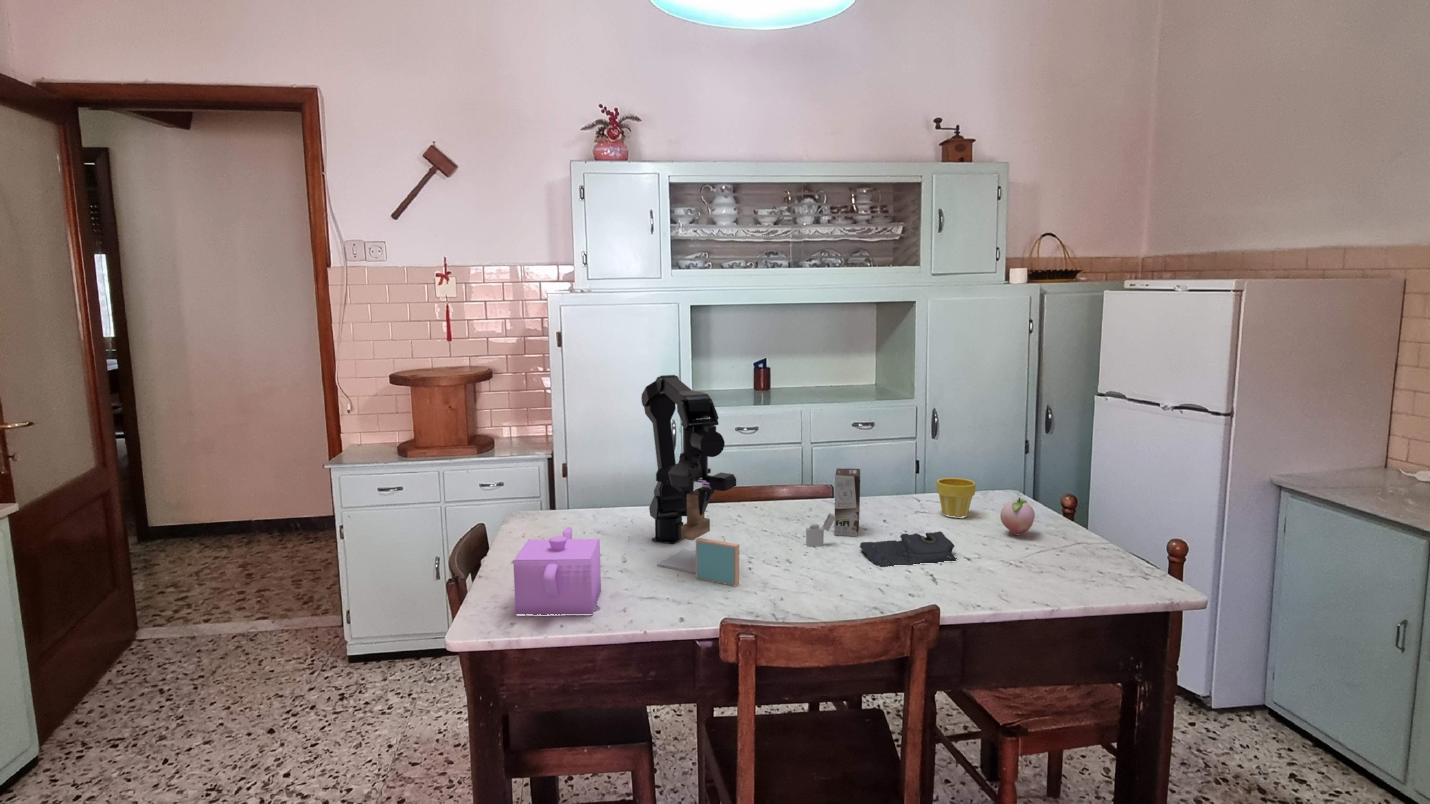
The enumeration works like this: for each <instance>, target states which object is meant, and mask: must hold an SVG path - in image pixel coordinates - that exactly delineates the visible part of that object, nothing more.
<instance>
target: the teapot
mask: <svg viewBox="0 0 1430 804" xmlns="http://www.w3.org/2000/svg"><path fill="white" fill-rule="evenodd" d="M572 536H573V528H572V527H568V526H567V527H565V528H564V530H563V532H562V535H555V536H552V537H550V538H548V539H547V538H545V539H542V538H541V539H539V538H538V539H537V538H536V539H527V541H526V542H525V544H523V546H522V548H521V549H520V550H519V552H518V554H517V555H516V556H515V558H514V560H513V584H514V605H515V607H514V608H515V609H514V610H515V615H516V614H525V615H526V614H533V615H537V614H538V615H539V614H541V615H547V614H549V615H550V614H554V615H555V614H557V615H558V614H560V615H561V614H593V612H594V613H595V611H594V609H595V610H596V608H595V607H597V605H596V604H598V602H599V599H598V598H600V596H601V593H602V583H601V582H602V574H601V540H600V538H573V537H572ZM600 592H601V593H600ZM599 595H600V596H599ZM597 601H598V602H597ZM593 615H594V614H593Z"/></svg>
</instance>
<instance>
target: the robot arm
mask: <svg viewBox="0 0 1430 804" xmlns="http://www.w3.org/2000/svg"><path fill="white" fill-rule="evenodd" d="M640 399H641V404H642V407H644V408H643V409H644V413H645V416H647V418H648V419H649V420H650V422H651V423H652V430H653V439H654V445H655V447H654V449H655V456H656V457H655V458H656V465H657V470H656V472H655V481H656V482H657V483H656V485H655V488H654V489H653V494H654V495H653V498H652V500H651V503H650V505H649V507H648V508H649V509H648V511H649V516H650V518H651V517H652V519H654V530H655V531H654V534H655V535H654V537H651V541H652V542H659V543H664V544H670V545H674V544H676V543H678V542H679V541H682V540H683V539H682V538H681V526H682V525H684V521H683V517H687V493H690V492H692V491H694V489H695V488H694V485H695V483H701V484H702V485H701V486H700V487H699V488H697V490H696V491H698V492H699V494H700V515H703V514H704V515H705V512H706V510H707V507H708V506H709V505H708V504H709V503H710V501H711V498H712V496H713V495H714V493H715V491H717V492H718V491H720V492H727V491H729V490H730V489H732V488H735V487H736V486H737V477H736V476H735V475H734V473H733V474H732V473H726V472H718V473H716V474H714V475H709V474H711V471H712V468H709V458H715V457H718V456H719V455H721V453H722V452H723V451H724V449H725V440H724V439H725V438H724V436H723V435H722V434H721V433H720V432H718V431H717V426H719V414H718V412H717V409H716V406H715V404H714V402H713V399H712V398H711V396H710V395H709V394H708V393H706V392H703V391H694V390H693V389H691V388H690V387H689V386H688V385H686V384H685V383H684V382H683V381H681V380H680V378H679V376H678V375H675V374H666V375H660V376H657V377H656V378H655V381H653V382H651V383H650V384H648V385H646V386H645V388H644V389H643V392H642V393H641V398H640ZM676 409H677V410H676ZM675 411H677V414H678V416H679V418H680V420H681V423H680V424H681V426H682V453H680V454H679V456H678V457H679V459H678V463H677V462H676V453H675V446H674V440H673V439H674V438H673V430H672V418H673V416H674V413H676V412H675Z"/></svg>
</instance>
